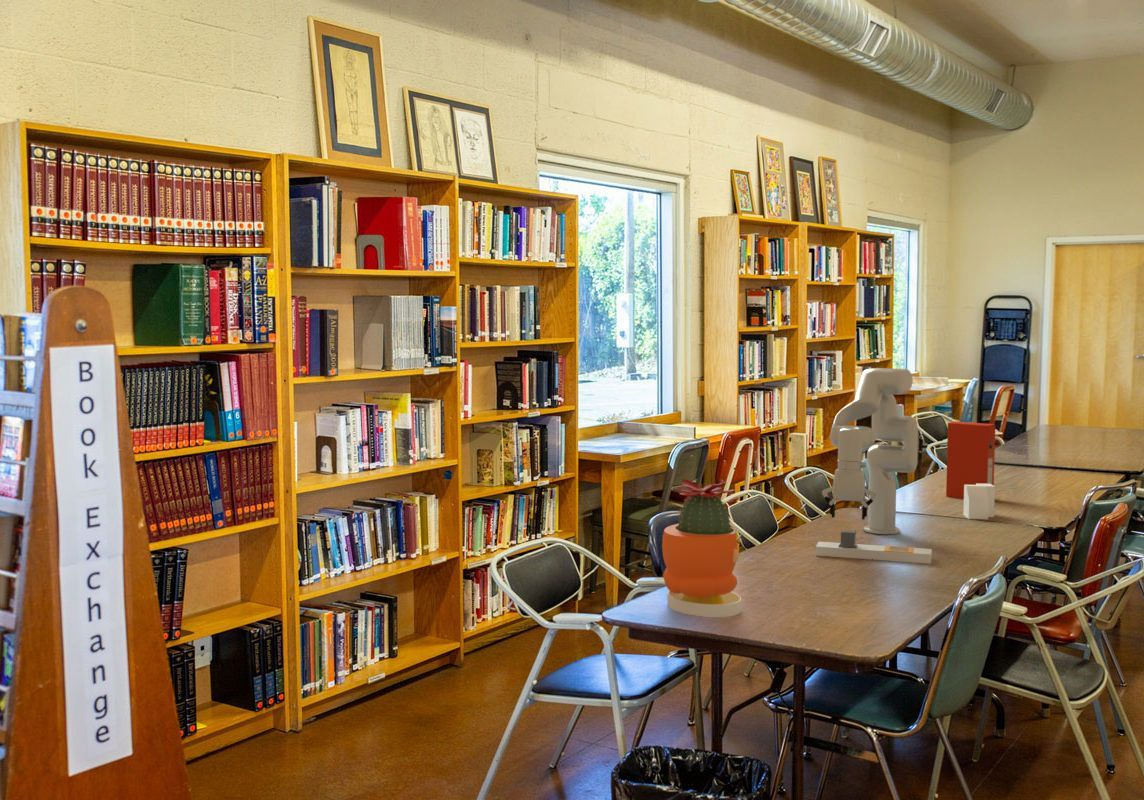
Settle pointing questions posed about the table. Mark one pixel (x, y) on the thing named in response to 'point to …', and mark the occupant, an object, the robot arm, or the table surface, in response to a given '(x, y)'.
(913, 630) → the table surface
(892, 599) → the table surface
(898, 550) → the rail
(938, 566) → the table surface
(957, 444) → the file binder
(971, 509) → the white upright cube
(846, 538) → the steel block
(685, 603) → the potted cactus
